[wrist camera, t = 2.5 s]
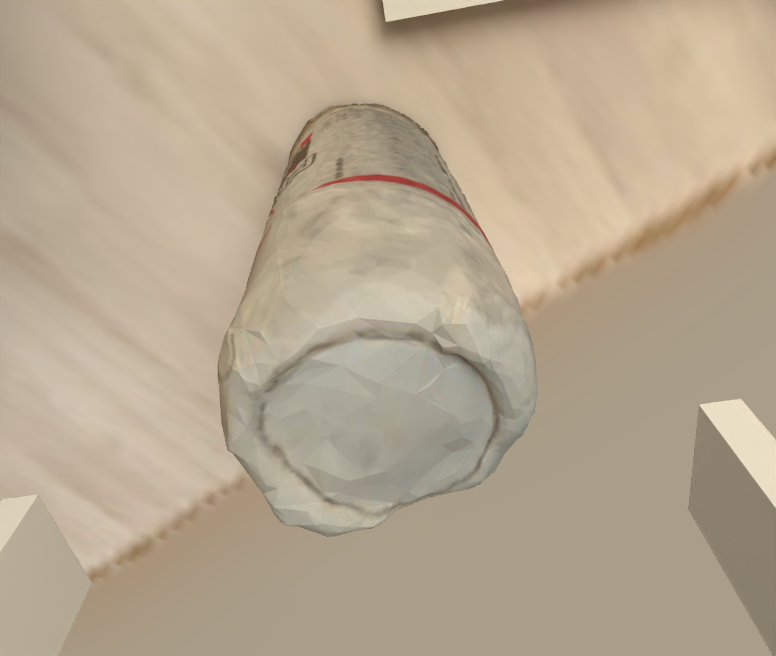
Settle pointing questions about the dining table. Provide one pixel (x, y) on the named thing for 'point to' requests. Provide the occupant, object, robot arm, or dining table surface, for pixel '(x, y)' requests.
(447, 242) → the spray can
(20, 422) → the dining table surface
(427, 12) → the cream board
